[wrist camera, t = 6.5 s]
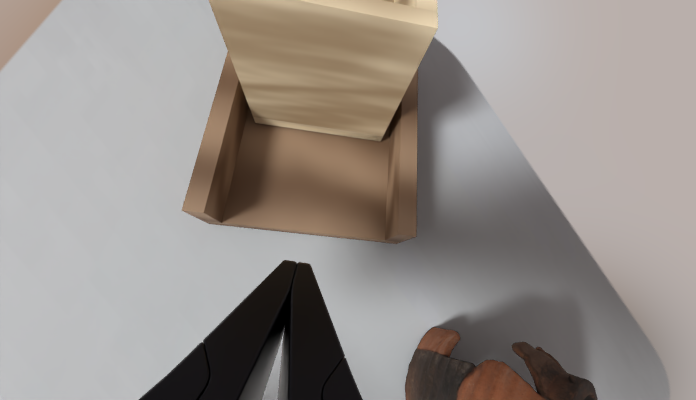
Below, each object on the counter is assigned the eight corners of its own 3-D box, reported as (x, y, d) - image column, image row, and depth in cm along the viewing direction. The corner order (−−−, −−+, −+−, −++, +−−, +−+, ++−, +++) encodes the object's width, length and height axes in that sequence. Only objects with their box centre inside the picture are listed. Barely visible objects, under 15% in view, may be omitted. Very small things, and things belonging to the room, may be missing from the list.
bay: (396, 243, 20) (430, 231, 14) (209, 223, 18) (161, 200, 13) (402, 62, 25) (428, -1, 19) (256, 36, 23) (238, -41, 18)
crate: (380, 141, 21) (437, 28, 11) (255, 122, 20) (201, -20, 10) (384, 63, 23) (435, -85, 14) (273, 43, 22) (242, -133, 12)
